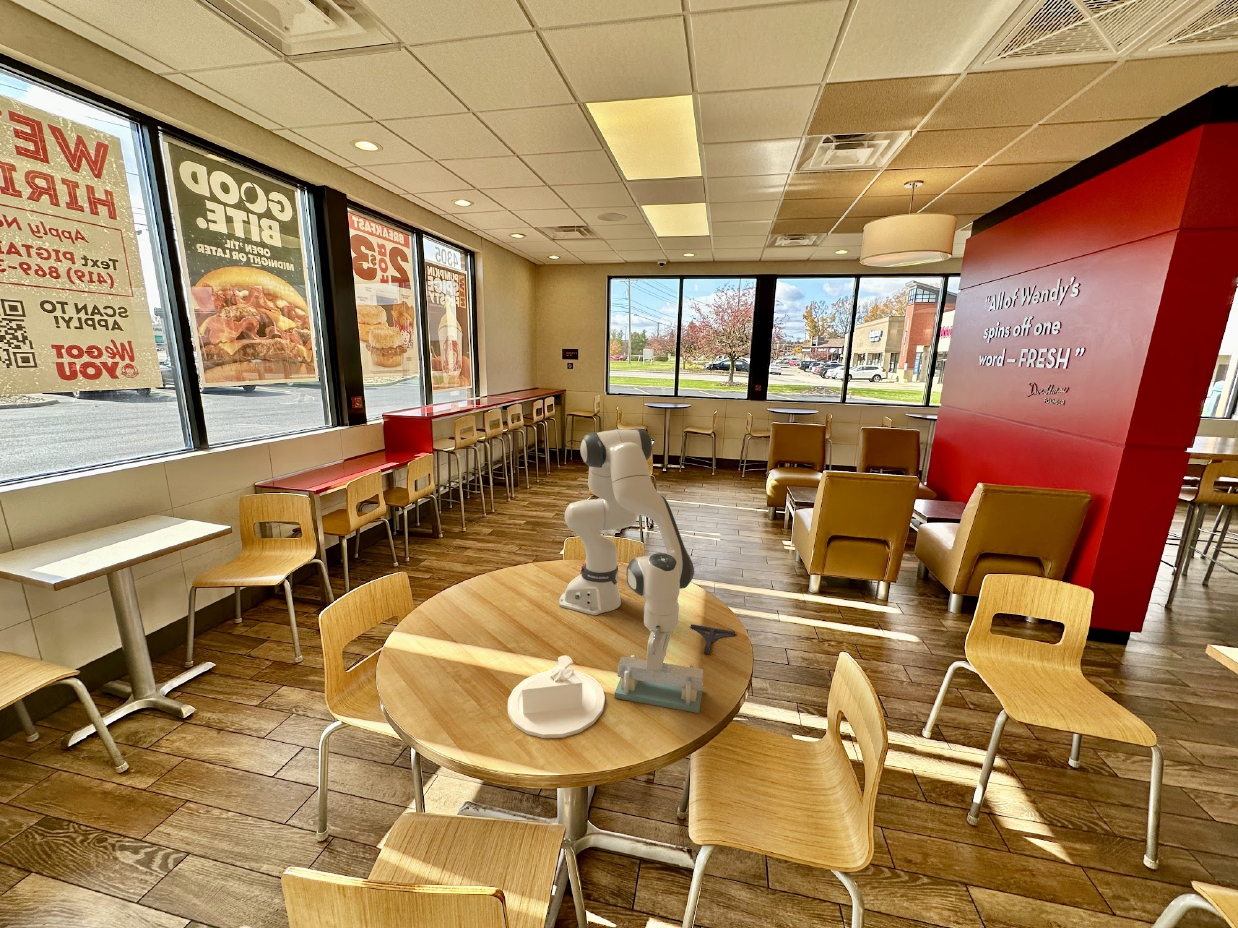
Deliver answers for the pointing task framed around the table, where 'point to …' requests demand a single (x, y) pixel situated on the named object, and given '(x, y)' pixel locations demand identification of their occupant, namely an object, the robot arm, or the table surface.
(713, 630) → the bracket
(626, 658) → the long grey flat plank
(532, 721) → the dish
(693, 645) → the table surface
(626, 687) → the rack
